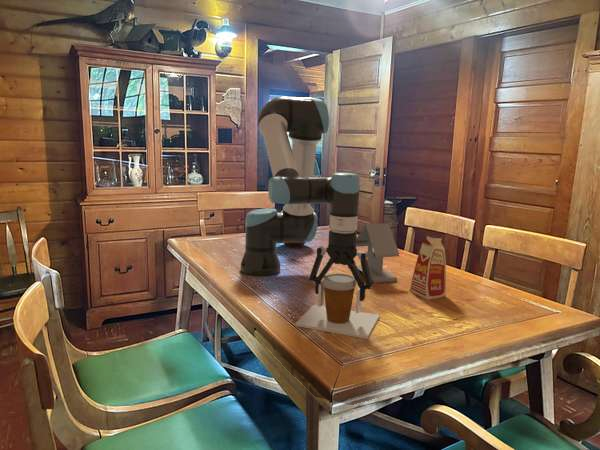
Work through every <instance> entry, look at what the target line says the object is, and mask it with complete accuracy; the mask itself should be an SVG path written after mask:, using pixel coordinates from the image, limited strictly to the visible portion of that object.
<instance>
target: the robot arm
mask: <svg viewBox="0 0 600 450" xmlns="http://www.w3.org/2000/svg"><path fill="white" fill-rule="evenodd" d="M257 127H258V132H259V134H260V136H262V137H263V140H264V144H265V148H266V153H267V157H268V161H269V166H270V169H271V170H270V171H271V174H272V177H270V178H269V180H268V184H267V185H268V187H267V190H268V199H269V201H270V203H272V204H281V205H283V207H282V210H283V212H281V211H280V212H278V210H277V209H276V208H273V207H269V208H268V207H265V208H257V209H253V210H250V211H249V212H247V213H246V215H245V223H244V226H245V240H244V241H245V242H244V243H245V249H244V253H243V255H242V260H241V263H240V272H241V271H242V272H241V273H243V274H245V273H246V275H248V274H249V275H250V276H255V275H256V276H257V277H259V276H260V277H261V276H263V277H264V276H273V275H277V274H279V273H281V263H280V260H279V255H278V252H277V244H284V243H303V242H306V243H310V242H312V241H313V240H314V239H315V236H317V235H316V234H317V231H318V224H319V223H318V215H317V213H316V212H314V211H315V209H314V207H312V206H311V205H313V204H317V205H318V204H320V205H321V204H329V227H328V228H329V229H330V230H329V231H328V246H327V247H324V246H322V245H321V246H319V247H318V248H317V249H316V258H315V260H314V263H313V265H312V269H311V272H310V274H309V277H308V279H309V281H311V282H314V283H315V288H314V289H315V291H314V293H315V295H317V297H318V298H317V305H318V307H321V306H324V301H325V294H324V286H323V284H322V281H323V279H324V276H326V275H327V274H328V272H329V270H331V268H332V266H333V265H334V264H335V265H342V266H347V268H348V269H349V271H350V273H352V276H353V277H354V278H355V281H356V283H357V284H356V285H358V288H357V289H356V301H355V311H356V313H359V312H361V311H362V310H361V309H362V302H364V300H365V299H366V290H370V289H372V287H373V284H374V283H372V278H371V275H370V271H369V267H368V262H367V254H368V251H367V250H366V251H360V250H359V251H358V249H357V247H356V239H357V237H358V234H357V232H356V231H357V230H358V219H359V218H358V217H359V216H358V215H359V202H360V201H359V199H360V190H361V185H360V176H359V174H357V173H354V172H333V174H332V175H331V176H329V175H326V176H314V173H315V164H316V155H317V154H316V153H317V144H318V143H319V142H320V141H321V140H322V137H323V136H322V135H324V134H327V133H328V130H329V127H330V114H329V109H328V106H327V103H326V101H324V100H323V99H320V98H315V97H296V96H293V97H292V96H291V97H289V96H278V97H275V98H273V99H270V100H269V101H267V103H266V104H264V106H262V108H261V110H260V112H259V114H258V116H257ZM290 140H291V141H292V145H291V142H290ZM326 253H327V255H328V257H329V260H327V262H326V264H325V266H324V267H323V269H322V270H321V272H320V273H319V269H320V266H321V263H322V260H323V258H324V255H325V254H326ZM356 257H357V258H358V260H359V261H360V265H361V267H362V271H363V272H362V271H360V270H358V268H357V266H358V265H356V261H355V258H356ZM361 272H362V274H363V276H362V275H361ZM318 273H319V274H318ZM317 275H318V276H317ZM363 278H364V279H363Z"/></svg>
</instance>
